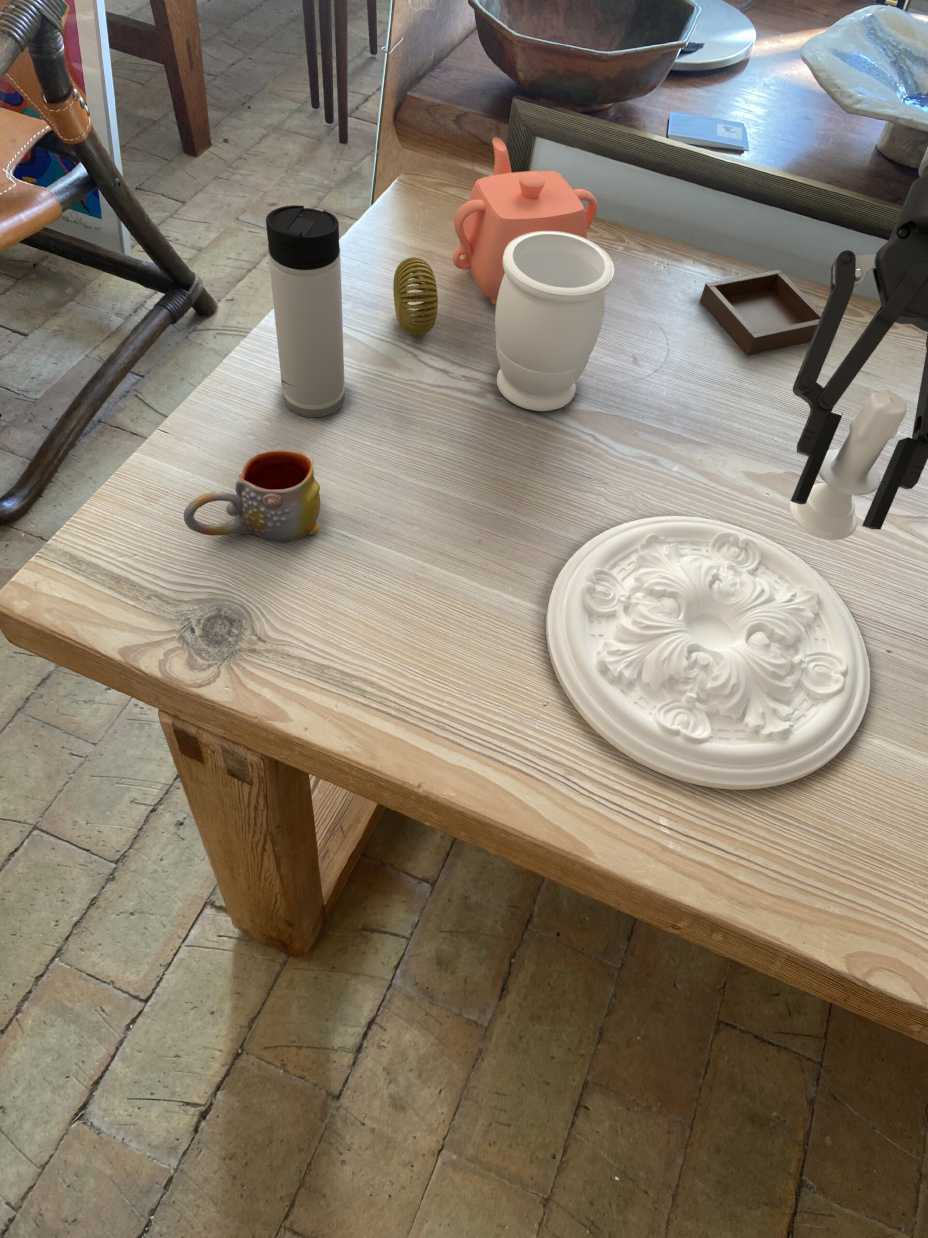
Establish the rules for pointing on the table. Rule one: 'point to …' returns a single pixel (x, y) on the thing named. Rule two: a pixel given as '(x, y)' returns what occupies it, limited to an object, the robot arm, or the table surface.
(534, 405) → the jar
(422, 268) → the sculpture
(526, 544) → the table surface
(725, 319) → the tray
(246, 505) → the mug
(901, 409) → the candle
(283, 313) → the travel mug
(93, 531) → the table surface
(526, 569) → the table surface
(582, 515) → the table surface
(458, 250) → the teapot
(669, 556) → the ceiling medallion
